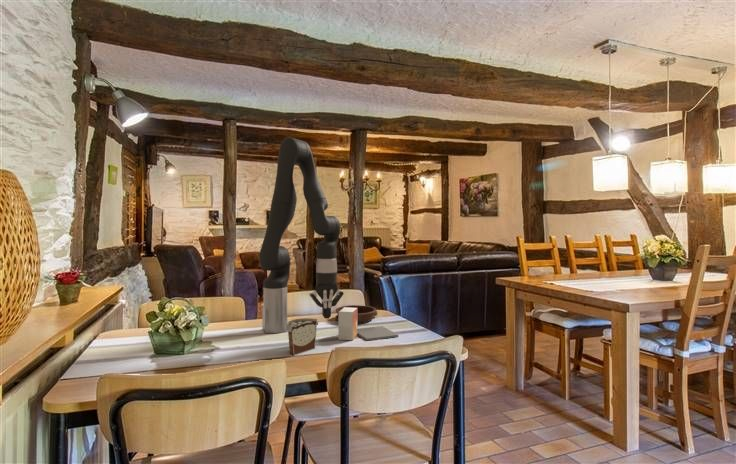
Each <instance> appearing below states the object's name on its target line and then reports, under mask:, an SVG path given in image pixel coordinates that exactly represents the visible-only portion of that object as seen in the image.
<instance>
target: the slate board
mask: <svg viewBox="0 0 736 464" xmlns="http://www.w3.org/2000/svg"><path fill="white" fill-rule="evenodd" d="M357 336H358V337H360V338H362V339H363V340H365V341H367V342H368V341H369V342H370V341H377V340H383V339H393V338H398V337H399V334H397V333H395V332H394V331H392V330H390V329H388V328H386V327H385V326H383V325H381V326H380V325H379V326H371V327H362V328H357Z"/></svg>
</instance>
